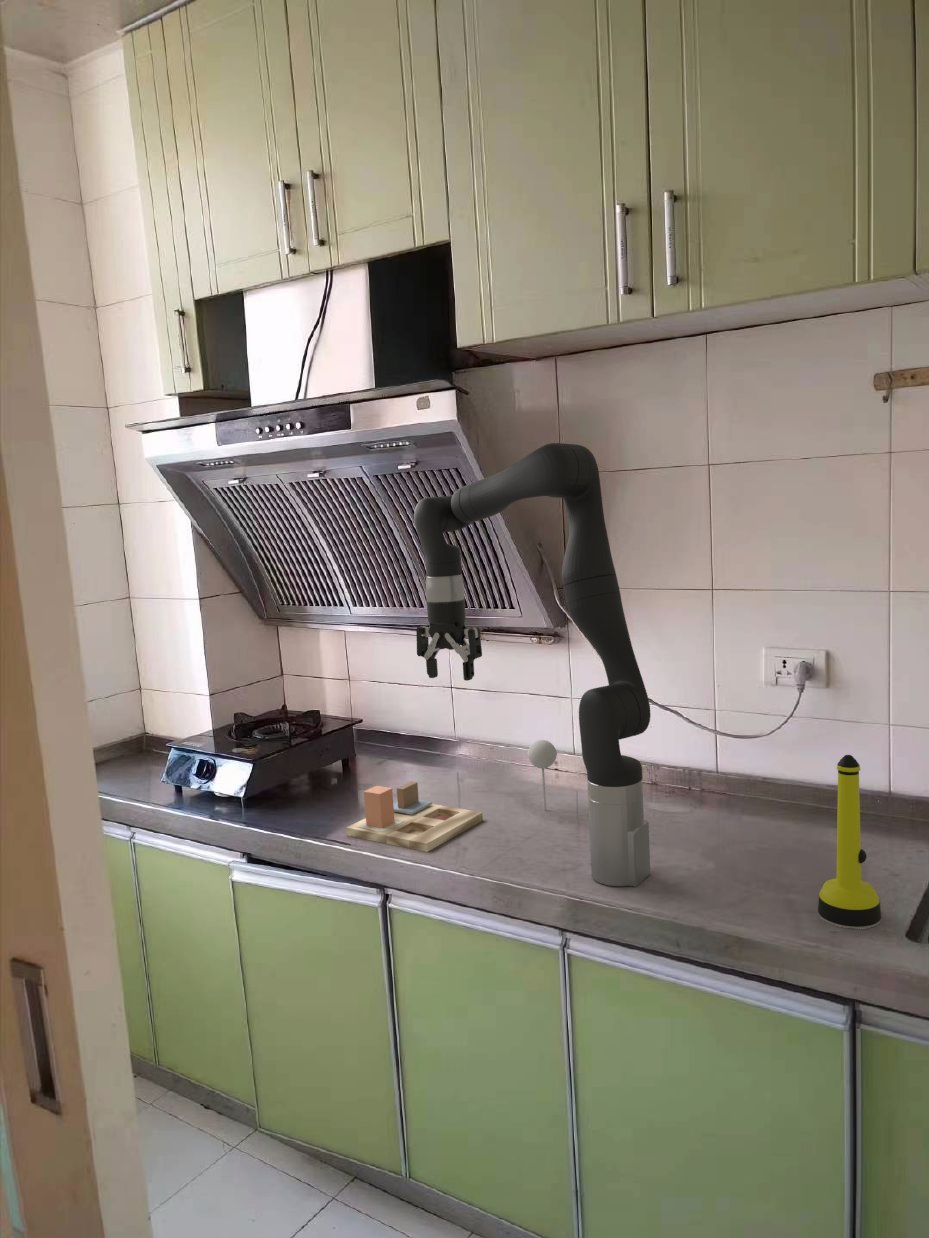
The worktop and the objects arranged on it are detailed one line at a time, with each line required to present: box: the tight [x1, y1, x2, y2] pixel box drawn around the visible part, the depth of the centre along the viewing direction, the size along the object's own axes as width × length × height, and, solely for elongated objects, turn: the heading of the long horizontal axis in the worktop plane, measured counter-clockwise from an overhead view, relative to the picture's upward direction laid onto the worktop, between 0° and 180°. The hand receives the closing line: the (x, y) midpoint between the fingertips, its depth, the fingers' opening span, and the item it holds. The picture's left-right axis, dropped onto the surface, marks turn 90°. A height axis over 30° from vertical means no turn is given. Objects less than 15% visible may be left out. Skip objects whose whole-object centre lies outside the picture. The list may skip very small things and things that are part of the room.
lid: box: [393, 781, 433, 815], centre depth 196 cm, size 7×7×5 cm
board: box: [345, 803, 484, 853], centre depth 189 cm, size 20×19×2 cm
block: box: [363, 785, 395, 828], centre depth 187 cm, size 4×4×7 cm
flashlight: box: [817, 754, 882, 930], centre depth 140 cm, size 25×9×9 cm
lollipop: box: [527, 739, 558, 811], centre depth 195 cm, size 6×6×15 cm
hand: (450, 678), depth 188 cm, fingers open, 8 cm apart
